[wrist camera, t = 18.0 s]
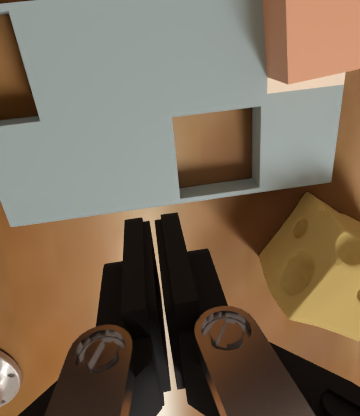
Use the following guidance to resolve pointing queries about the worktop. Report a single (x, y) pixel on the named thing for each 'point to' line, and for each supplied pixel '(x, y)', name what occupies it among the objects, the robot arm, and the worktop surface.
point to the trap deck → (150, 106)
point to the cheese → (316, 267)
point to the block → (311, 38)
